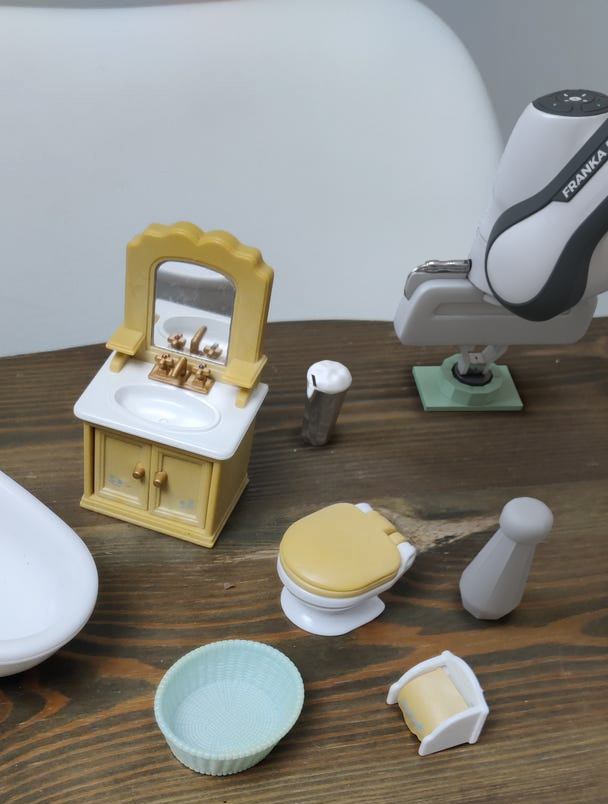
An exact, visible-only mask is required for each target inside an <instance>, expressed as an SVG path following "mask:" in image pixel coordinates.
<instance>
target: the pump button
mask: <svg viewBox="0 0 608 804" xmlns="http://www.w3.org/2000/svg"><path fill="white" fill-rule="evenodd" d="M453 376H454V378H456V379H457V380H458V381H459V382H461V383H463V384H466V385H469V386H485V385H487V384H488V382H489V379H490V376H491V372H490V370H488V372H487V374H460V372H459V369H458V364H457V365H456V366H455V369H454V372H453Z"/></svg>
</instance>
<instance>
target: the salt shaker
mask: <svg viewBox="0 0 608 804" xmlns="http://www.w3.org/2000/svg"><path fill="white" fill-rule="evenodd" d="M554 521H555V518H554V515H553V513H552V510H551V509H550V507H549V506H548V505H546V503H544V502H543V501H541V500H539V499H538V498H533V497H528V496H522V497H516V498H513V499H511V500H510V501H508V502H507V503H506V504H505V506H503V508H502V510H501V513H500V517H499V519H498V523H499V528H498V529H497V531H496V532H495V533H494V535H493V536H492V537H490V539H489V540H488V541H487V542H486V544H485V545H484V546H483V548H482V549H481V550H480V551H479V552H478V553H477V554H476V556H475V557H474V558H473V560H471V562H470V563H469V565H468V566H466V568H465V569H464V570H463V572H462V574H461V577H460V580H459V584H458V586H459V591H460V595H461V596H460V597H461V602H462V603H461V604H462V607H463V608H464V609H465V610H466V611H467V612H469V613H470V614H471V616H473V617H475V618H476V619H477V620H498V619H500V618H502V617H504V616H505V615H507V614H509V613H511V612H512V611H513V610H514V609H516V608H517V607H518V606H519V605H520V604H521V601H522V598H523V595H524V592H525V588H526V585H527V581H528V577H529V574H530V571H531V566H532V563H533V559H534V555H535V553H536V550H537V549H536V548H537V545H538V544H539V543H541V542H542V541H543V540H545V539H546V538H547V537H548V536H549V534H550V532H551V530H552V527H553V524H554Z"/></svg>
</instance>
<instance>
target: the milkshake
mask: <svg viewBox="0 0 608 804" xmlns="http://www.w3.org/2000/svg"><path fill="white" fill-rule="evenodd" d="M352 381H353V378H352V375H351V371H350V370H349V368H347V367H346V366H345V365H343V364H342V363H341V362H339V361H333V360H329V359H325V360H321V361H318V362H315V363H313V364H312V365H310V367H309V368H308V370H307V374H306V383H305V384H306V385H305V398H304V408H303V415H302V416H303V417H302V424H301V425H302V426H301V431H300V432H301V433H300V437H301V439H303V441H304V442H305V444H306V443H307V444H309V445H311V446H313V447H315V446H324V445H326V444H327V443H329V442H330V441H331V438H332V435H333V432H334V430H335V427H336V424H337V421H338V419H339V415H340V412H341V410H342V407H343V404H344V402H345V399H346V397H347V394H348V392H349V389H350V386H351V384H352Z"/></svg>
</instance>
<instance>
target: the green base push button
mask: <svg viewBox="0 0 608 804" xmlns="http://www.w3.org/2000/svg"><path fill="white" fill-rule="evenodd" d="M460 357H461V353H455V354H453V355H450V356H449V357H446V358H445V359H444V360H443V361H442V364H441V365H440V366H439V365H438V366H437V365H431V366H430V365H427V366H426V365H425V366H423V365H421V366H419V365H418V366H415V365H414V366H413V367H412V371H411V372H412V375H413V378H414V382H415V385H416V389H417V391H418V394H419V396H420V397H419V398H420V400H421V403H422V406H423V409H424V412H489V411H491V412H493V411H497V412H498V411H499V412H500V411H522V409H523V407H524V404H523V401H522V400H521V397H520V394H519V392H518V390H517V388H516V385H515V382H514V381H513V378H512V376H511V373H510V370H509V369H508V365H497V364H496V363H495V361H494V362H493V363H491V365H490V367H489V370H490V372H491V376H490V379H489V382H488V384H487V385H485V386H469V385H466V384H463V383H461V382H459V381H458V380H457V379H456V378H454V376H453V372H454V369H455V366H456V365H457V364H458V362H459V360H460Z"/></svg>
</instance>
